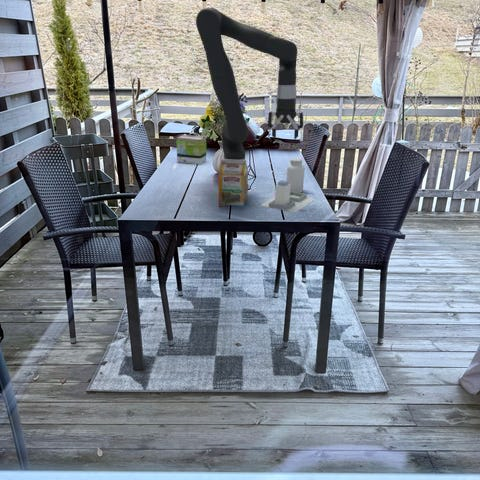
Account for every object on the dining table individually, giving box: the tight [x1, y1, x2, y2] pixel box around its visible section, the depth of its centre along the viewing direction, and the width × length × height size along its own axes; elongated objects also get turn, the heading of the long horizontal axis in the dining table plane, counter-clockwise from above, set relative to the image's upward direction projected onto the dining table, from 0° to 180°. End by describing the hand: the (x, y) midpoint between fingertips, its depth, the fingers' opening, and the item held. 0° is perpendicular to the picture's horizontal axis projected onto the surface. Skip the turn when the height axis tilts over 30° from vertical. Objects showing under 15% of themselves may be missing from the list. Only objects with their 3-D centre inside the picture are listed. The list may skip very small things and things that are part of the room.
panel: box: [259, 191, 316, 213], centre depth 177 cm, size 21×16×3 cm
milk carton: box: [217, 158, 249, 208], centre depth 175 cm, size 11×11×19 cm
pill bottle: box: [285, 157, 305, 193], centre depth 193 cm, size 8×8×15 cm
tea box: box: [175, 134, 207, 165], centre depth 245 cm, size 15×10×15 cm
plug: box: [274, 180, 290, 206], centre depth 171 cm, size 4×5×10 cm
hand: (285, 138), depth 172 cm, fingers open, 8 cm apart
